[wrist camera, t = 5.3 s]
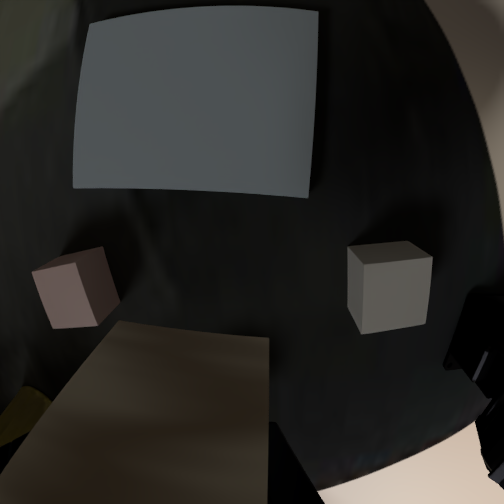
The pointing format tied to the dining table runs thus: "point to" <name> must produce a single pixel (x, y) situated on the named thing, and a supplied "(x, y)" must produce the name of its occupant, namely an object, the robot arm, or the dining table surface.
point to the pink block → (77, 289)
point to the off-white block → (388, 285)
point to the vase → (22, 413)
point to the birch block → (152, 424)
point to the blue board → (199, 101)
